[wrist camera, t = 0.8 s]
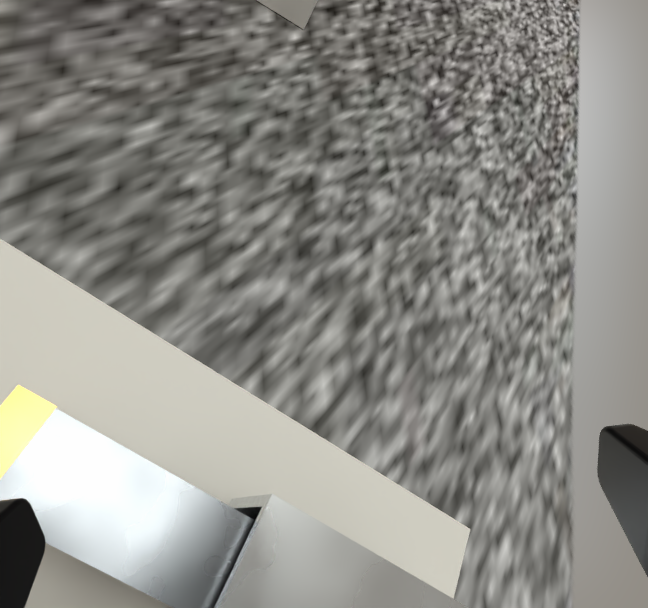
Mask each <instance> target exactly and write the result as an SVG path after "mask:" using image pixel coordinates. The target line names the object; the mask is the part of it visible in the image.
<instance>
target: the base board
mask: <svg viewBox="0 0 648 608" xmlns="http://www.w3.org/2000/svg"><path fill="white" fill-rule="evenodd" d="M18 385H20V386H22V387H23V388H25V389H27V390H29V391H30V392H32V393H34V394H36V395H38V396H39V397H41V398H43V399H45V400H46V401H48V402H50V403H52V404H54V405H55V406H57V409H58V410H60V411H62V412H63V413H65V414H67V415H69V416H70V417H72V418H74V419H76V420H78V421H79V422H81V423H83V424H85V425H86V426H88V427H90V428H92V429H94V430H95V431H97V432H99V433H101V434H102V435H104V436H106V437H108V438H110V439H111V440H113V441H115V442H117V443H118V444H120V445H122V446H124V447H125V448H127V449H129V450H131V451H133V452H134V453H136V454H138V455H140V456H141V457H143V458H145V459H147V460H149V461H150V462H152V463H154V464H156V465H157V466H159V467H161V468H163V469H165V470H166V471H168V472H170V473H172V474H173V475H175V476H177V477H179V478H180V479H182V480H184V481H186V482H188V483H189V484H191V485H193V486H195V487H196V488H198V489H200V490H202V491H204V492H205V493H207V494H209V495H211V496H212V497H214V498H216V499H218V500H220V501H221V502H223V503H225V504H227V505H229V503H230V501H231V499H233V498H241V497H249V496H258V495H266V494H274V495H275V496H277V497H279V498H281V499H282V500H284V501H286V502H287V503H289V504H291V505H293V506H294V507H296V508H298V509H300V510H301V511H303V512H305V513H306V514H308V515H310V516H312V517H313V518H315V519H317V520H319V521H320V522H322V523H324V524H325V525H327V526H329V527H331V528H332V529H334V530H336V531H338V532H339V533H341V534H343V535H344V536H346V537H348V538H350V539H351V540H353V541H355V542H357V543H358V544H360V545H362V546H363V547H365V548H367V549H369V550H370V551H372V552H374V553H375V554H377V555H379V556H381V557H382V558H384V559H386V560H388V561H389V562H391V563H393V564H394V565H396V566H398V567H400V568H401V569H403V570H405V571H407V572H408V573H410V574H412V575H413V576H415V577H417V578H419V579H420V580H422V581H424V582H426V583H427V584H429V585H431V586H432V587H434V588H436V589H438V590H439V591H441V592H443V593H445V594H446V595H448V596H450V597H451V598H454V594H455V590H456V586H457V582H458V578H459V573H460V569H461V565H462V561H463V557H464V553H465V549H466V545H467V540H468V536H469V532H470V529H469V528H468V527H466V526H464V525H463V524H461V523H460V522H458V521H456V520H455V519H453V518H451V517H450V516H448V515H447V514H445V513H443V512H442V511H440V510H438V509H437V508H435V507H434V506H432V505H430V504H429V503H427V502H426V501H424V500H422V499H421V498H419V497H417V496H416V495H414V494H413V493H411V492H409V491H408V490H406V489H404V488H403V487H401V486H400V485H398V484H396V483H395V482H393V481H392V480H390V479H388V478H387V477H385V476H383V475H382V474H380V473H379V472H377V471H375V470H374V469H372V468H370V467H369V466H367V465H366V464H364V463H362V462H361V461H359V460H358V459H356V458H354V457H353V456H351V455H349V454H348V453H346V452H345V451H343V450H341V449H340V448H338V447H336V446H335V445H333V444H332V443H330V442H328V441H327V440H325V439H324V438H322V437H320V436H319V435H317V434H315V433H314V432H312V431H311V430H309V429H307V428H306V427H304V426H302V425H301V424H299V423H298V422H296V421H294V420H293V419H291V418H290V417H288V416H286V415H285V414H283V413H281V412H280V411H278V410H277V409H275V408H273V407H272V406H270V405H268V404H267V403H265V402H264V401H262V400H260V399H259V398H257V397H256V396H254V395H252V394H251V393H249V392H247V391H246V390H244V389H243V388H241V387H239V386H238V385H236V384H234V383H233V382H231V381H230V380H228V379H226V378H225V377H223V376H222V375H220V374H218V373H217V372H215V371H213V370H212V369H210V368H209V367H207V366H205V365H204V364H202V363H200V362H199V361H197V360H196V359H194V358H192V357H191V356H189V355H188V354H186V353H184V352H183V351H181V350H179V349H178V348H176V347H175V346H173V345H171V344H170V343H168V342H167V341H165V340H163V339H162V338H160V337H158V336H157V335H155V334H154V333H152V332H150V331H149V330H147V329H145V328H144V327H142V326H141V325H139V324H137V323H136V322H134V321H133V320H131V319H129V318H128V317H126V316H124V315H123V314H121V313H120V312H118V311H116V310H115V309H113V308H111V307H110V306H108V305H107V304H105V303H103V302H102V301H100V300H99V299H97V298H95V297H94V296H92V295H90V294H89V293H87V292H86V291H84V290H82V289H81V288H79V287H77V286H76V285H74V284H73V283H71V282H69V281H68V280H66V279H65V278H63V277H61V276H60V275H58V274H56V273H55V272H53V271H52V270H50V269H48V268H47V267H45V266H43V265H42V264H40V263H39V262H37V261H35V260H34V259H32V258H31V257H29V256H27V255H26V254H24V253H22V252H21V251H19V250H18V249H16V248H14V247H13V246H11V245H9V244H8V243H6V242H5V241H3V240H1V239H0V406H1V405H2V403H3V402H4V401H5V400H6V399H7V398H8V396H9V395H10V394H11V393H12V392H13V390H14V389H15V388H16V387H17V386H18ZM25 608H173V607H171V606H169V605H167V604H165V603H163V602H161V601H159V600H157V599H155V598H153V597H151V596H149V595H147V594H145V593H144V592H142V591H140V590H138V589H136V588H134V587H132V586H130V585H128V584H126V583H124V582H122V581H120V580H118V579H116V578H114V577H112V576H110V575H108V574H106V573H104V572H102V571H100V570H98V569H96V568H94V567H92V566H90V565H88V564H86V563H84V562H82V561H80V560H78V559H77V558H75V557H73V556H71V555H69V554H67V553H65V552H63V551H61V550H59V549H57V548H55V547H53V546H51V545H49V544H47V543H46V544H45V552H44V555H43V558H42V561H41V564H40V566H39V569H38V572H37V575H36V578H35V580H34V583H33V586H32V589H31V591H30V594H29V597H28V600H27V603H26V605H25Z"/></svg>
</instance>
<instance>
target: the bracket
mask: <svg viewBox="0 0 648 608" xmlns="http://www.w3.org/2000/svg"><path fill="white" fill-rule="evenodd" d="M257 1H258V2H260V3H262V4H263V5H265V6H266V7H268V8H270V9H271V10H273V11H275V12H276V13H278V14H279V15H281V16H283V17H284V18H286V19H287V20H289V21H291V22H292V23H294V24H296V25H297V26H299V27H300V28H302V29H304V28H305V26H306V24H307V22H308V20H309V18H310V16H311V14H312V11H313V9H314V7H315V5H316V3H317V1H318V0H257Z"/></svg>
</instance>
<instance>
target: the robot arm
mask: <svg viewBox="0 0 648 608" xmlns="http://www.w3.org/2000/svg"><path fill="white" fill-rule="evenodd" d="M598 478H599V482H600V485H601V487H602V489H603V491H604V493H605V495H606V497H607V499H608V501H609V503H610V505H611V507H612V509H613V511H614V513H615V515H616V517H617V519H618V520H619V522H620V524H621V526H622V528H623V530H624V532H625V534H626V536H627V538H628V540H629V542H630V544H631V546H632V548H633V550H634V552H635V554H636V556H637V557H638V559H639V562H640V563H641V565H642V567H643V569H644V571H645V573H646V575H647V576H648V431H647V430H645V429H642V428H640V427H638V426H635V425H632V424H623V425H615V426H607V427H605V428H603V429H602V430H601V432H600V437H599V454H598ZM45 544H46V541H45V536H44V533H43V531H42V528H41V526H40V524H39V522H38V519H37V517H36V515H35V513H34V510H33V508H32V506H31V504H30V502H29V501H27V500H26V499H24V498H16V499H7V500H1V501H0V608H25V605H26V603H27V600H28V597H29V594H30V591H31V589H32V586H33V583H34V580H35V578H36V575H37V572H38V569H39V566H40V564H41V561H42V558H43V555H44V552H45Z"/></svg>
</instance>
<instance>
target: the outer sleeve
mask: <svg viewBox="0 0 648 608" xmlns="http://www.w3.org/2000/svg"><path fill="white" fill-rule="evenodd" d="M228 506H230V507H232V508H234V509H235V510H237V511H239V512H241V513H243V514H244V515H246V516H248V517H250V518H251V519H253V520H255V523H254V525H253V527H252V529H251V531H250V533H249V536H248V538H247V540H246V542H245V544H244V546H243V548H242V550H241V552H240V555H239V557H238V559H237V561H236V563H235V565H234V567H233V569H232V571H231V573H230V576H229V578H228V580H227V582H226V584H225V586H224V588H223V590H222V592H221V595H220V597H219V599H218V601H217V603H216V605H215V607H214V608H469V607H467V606H465V605H463V604H462V603H460V602H458V601H457V600H455V599H453V598H451V597H450V596H448V595H446V594H445V593H443V592H441V591H439V590H438V589H436V588H434V587H432V586H431V585H429V584H427V583H426V582H424V581H422V580H420V579H419V578H417V577H415V576H413V575H412V574H410V573H408V572H407V571H405V570H403V569H401V568H400V567H398V566H396V565H394V564H393V563H391V562H389V561H388V560H386V559H384V558H382V557H381V556H379V555H377V554H375V553H374V552H372V551H370V550H369V549H367V548H365V547H363V546H362V545H360V544H358V543H357V542H355V541H353V540H351V539H350V538H348V537H346V536H344V535H343V534H341V533H339V532H338V531H336V530H334V529H332V528H331V527H329V526H327V525H325V524H324V523H322V522H320V521H319V520H317V519H315V518H313V517H312V516H310V515H308V514H306V513H305V512H303V511H301V510H300V509H298V508H296V507H294V506H293V505H291V504H289V503H287V502H286V501H284V500H282V499H281V498H279V497H277V496H275V495H274V494H266V495H258V496H249V497H241V498H233V499H231V501H230V503H229V505H228Z"/></svg>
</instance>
